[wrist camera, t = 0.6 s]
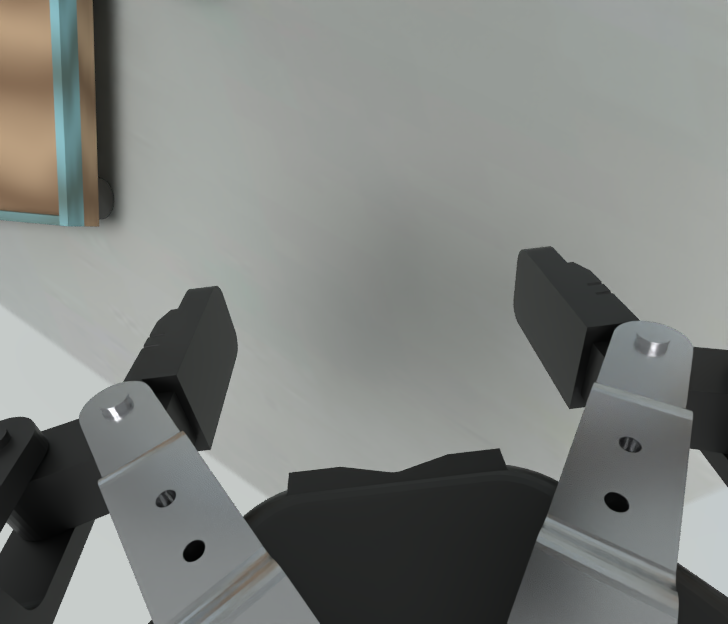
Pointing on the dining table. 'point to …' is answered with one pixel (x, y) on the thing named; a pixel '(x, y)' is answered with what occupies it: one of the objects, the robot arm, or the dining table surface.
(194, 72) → the dining table surface
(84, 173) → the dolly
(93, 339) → the dining table surface
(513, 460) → the dining table surface
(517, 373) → the dining table surface
